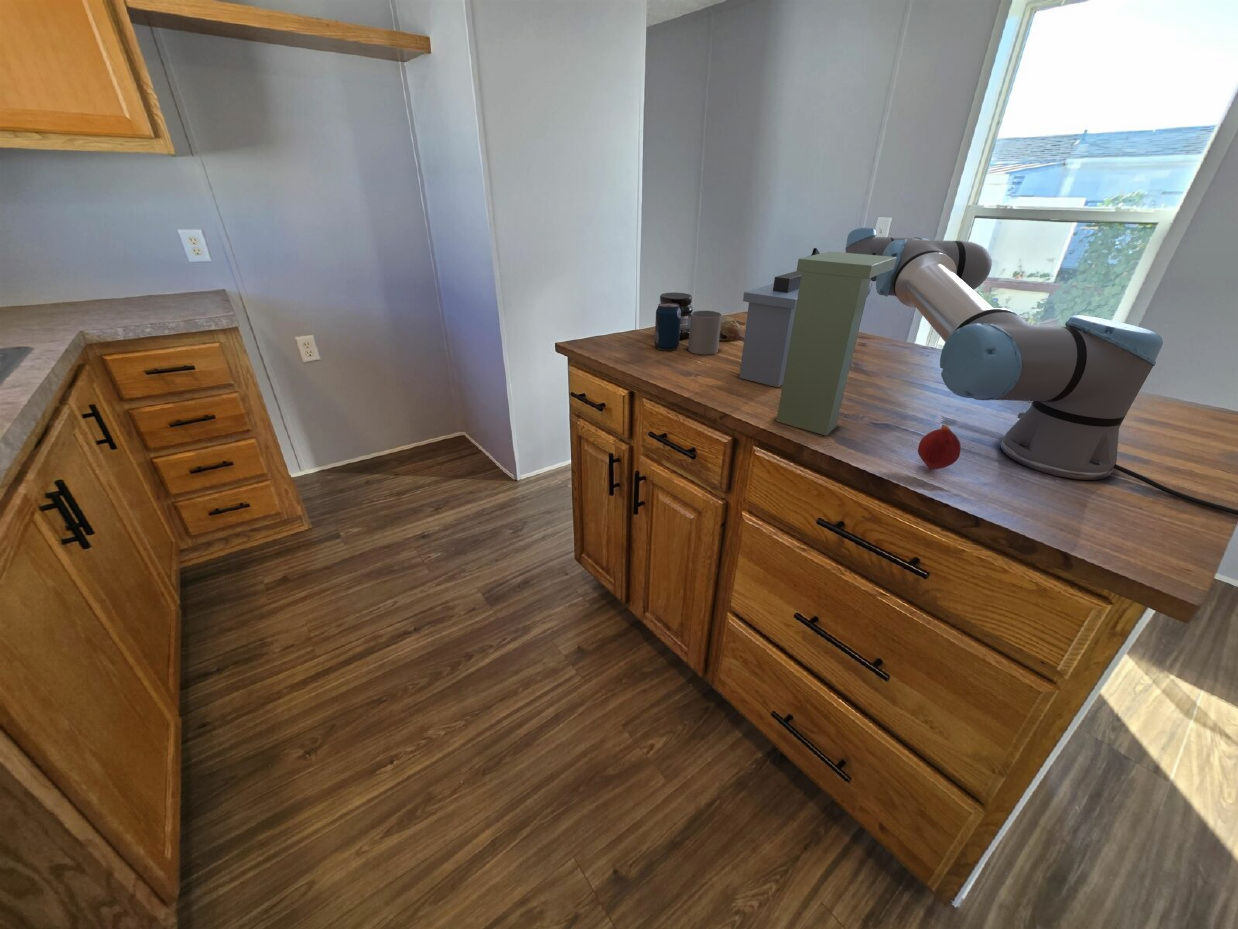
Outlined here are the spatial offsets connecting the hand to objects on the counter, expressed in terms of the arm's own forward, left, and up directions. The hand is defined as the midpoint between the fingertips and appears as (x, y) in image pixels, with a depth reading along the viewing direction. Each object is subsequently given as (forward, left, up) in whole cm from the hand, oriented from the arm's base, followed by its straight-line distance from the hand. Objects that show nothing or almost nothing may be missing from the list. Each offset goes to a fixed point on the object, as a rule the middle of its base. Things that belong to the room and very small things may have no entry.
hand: (842, 256), depth 121 cm
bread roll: (+32, -4, -26) cm, 41 cm away
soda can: (+38, +17, -26) cm, 49 cm away
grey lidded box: (+5, +17, -26) cm, 31 cm away
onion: (-36, +45, -26) cm, 63 cm away
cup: (+29, +12, -26) cm, 41 cm away
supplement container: (+44, +5, -26) cm, 51 cm away
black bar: (+5, +11, -6) cm, 13 cm away
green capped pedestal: (-13, +37, -26) cm, 47 cm away
